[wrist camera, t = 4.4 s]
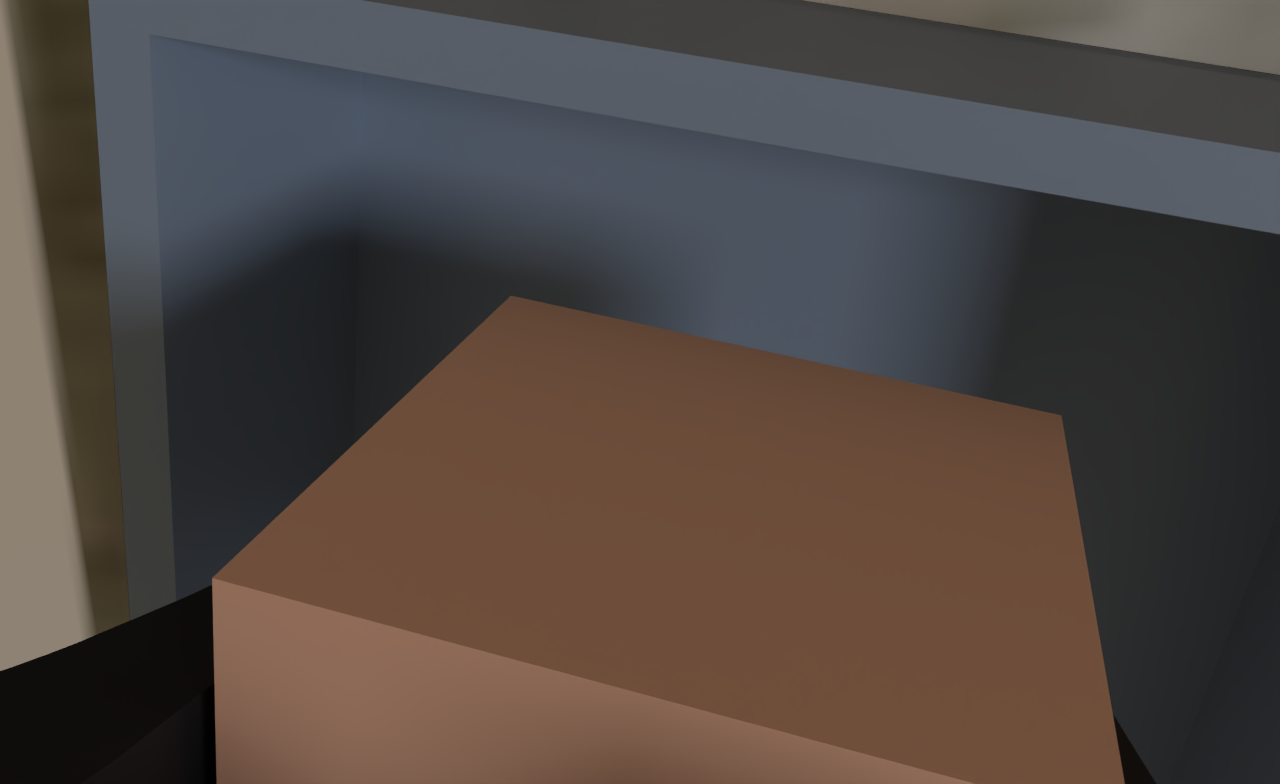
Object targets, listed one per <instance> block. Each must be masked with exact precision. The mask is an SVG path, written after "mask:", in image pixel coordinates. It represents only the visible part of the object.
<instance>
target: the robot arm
mask: <svg viewBox="0 0 1280 784" xmlns="http://www.w3.org/2000/svg"><path fill="white" fill-rule="evenodd" d="M1113 718H1114V724H1115V730H1116V736H1117V741H1118V747H1119V753H1120V759H1121V765H1122V770H1123V776H1124V782H1125V784H1157V783H1156V782H1155V780H1154V778H1153V777H1152V775H1151V774H1150V772H1149V770H1148V769H1147V767H1146V766H1145V764H1144V763H1143V761H1142V759H1141V758H1140V756H1139V754H1138V753H1137V751H1136V750H1135V748H1134V746H1133V745H1132V743H1131V742H1130V740H1129V738H1128V737H1127V735H1126V734H1125V732H1124V730H1123V729H1122V727H1121V725H1120V724H1119V722H1118V721H1117V719H1116V717H1115V716H1114V714H1113ZM0 784H217V777H216V732H215V686H214V640H213V594H212V585H210V586H208V587H206V588H204V589H202V590H200V591H198V592H195V593H193V594H191V595H189V596H187V597H185V598H182V599H180V600H177V601H175V602H173V603H170V604H168V605H166V606H163V607H161V608H159V609H156V610H154V611H152V612H149V613H147V614H144V615H142V616H140V617H137V618H135V619H133V620H130V621H128V622H126V623H123V624H121V625H119V626H116V627H114V628H111V629H109V630H107V631H104V632H102V633H100V634H97V635H95V636H93V637H90V638H88V639H86V640H83V641H81V642H78V643H76V644H73V645H71V646H68V647H66V648H63V649H60V650H58V651H55V652H53V653H50V654H48V655H45V656H42V657H39V658H36V659H34V660H31V661H28V662H26V663H23V664H20V665H17V666H14V667H12V668H9V669H6V670H3V671H0Z"/></svg>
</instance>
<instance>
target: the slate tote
mask: <svg viewBox="0 0 1280 784" xmlns="http://www.w3.org/2000/svg"><path fill="white" fill-rule="evenodd" d="M88 3H89V18H90V32H91V47H92V62H93V77H94V92H95V107H96V121H97V136H98V151H99V166H100V181H101V195H102V210H103V225H104V240H105V255H106V270H107V284H108V299H109V314H110V329H111V344H112V359H113V373H114V388H115V403H116V418H117V433H118V447H119V462H120V477H121V492H122V507H123V522H124V536H125V551H126V566H127V581H128V596H129V611H130V620H133V619H135V618H137V617H140V616H142V615H144V614H147V613H149V612H152V611H154V610H156V609H159V608H161V607H163V606H166V605H168V604H170V603H173V602H175V601H177V600H180V599H182V598H185V597H187V596H189V595H191V594H193V593H195V592H198V591H200V590H202V589H204V588H206V587H208V586H210V585H212V578H213V577H214V576H215V575H216V574H217V573H218V572H219V571H220V570H221V569H222V568H223V567H224V566H226V565H227V564H228V563H229V562H230V561H231V560H232V559H233V558H234V557H235V556H236V555H237V554H238V553H239V552H240V551H241V550H242V549H244V548H245V547H246V546H247V545H248V544H249V543H250V542H251V541H252V540H253V539H254V538H255V537H256V536H257V535H258V534H259V533H260V532H261V531H263V530H264V529H265V528H266V527H267V526H268V525H269V524H270V523H271V522H272V521H273V520H274V519H275V518H276V517H277V516H278V515H279V514H281V513H282V512H283V511H284V510H285V509H286V508H287V507H288V506H289V505H290V504H291V503H292V502H293V501H294V500H295V499H296V498H297V497H299V496H300V495H301V494H302V493H303V492H304V491H305V490H306V489H307V488H308V487H309V486H310V485H311V484H312V483H313V482H314V481H315V480H317V479H318V478H319V477H320V476H321V475H322V474H323V473H324V472H325V471H326V470H327V469H328V468H329V467H330V466H331V465H332V464H333V463H335V462H336V461H337V460H338V459H339V458H340V457H341V456H342V455H343V454H344V453H345V452H346V451H347V450H348V449H349V448H350V447H351V446H352V445H354V444H355V443H356V442H357V441H358V440H359V439H360V438H361V437H362V436H363V435H364V434H365V433H366V432H367V431H368V430H369V429H370V428H372V427H373V426H374V425H375V424H376V423H377V422H378V421H379V420H380V419H381V418H382V417H383V416H384V415H385V414H386V413H387V412H388V411H390V410H391V409H392V408H393V407H394V406H395V405H396V404H397V403H398V402H399V401H400V400H401V399H402V398H403V397H404V396H405V395H406V394H408V393H409V392H410V391H411V390H412V389H413V388H414V387H415V386H416V385H417V384H418V383H419V382H420V381H421V380H422V379H423V378H424V377H425V376H427V375H428V374H429V373H430V372H431V371H432V370H433V369H434V368H435V367H436V366H437V365H438V364H439V363H440V362H441V361H442V360H443V359H445V358H446V357H447V356H448V355H449V354H450V353H451V352H452V351H453V350H454V349H455V348H456V347H457V346H458V345H459V344H460V343H461V342H463V341H464V340H465V339H466V338H467V337H468V336H469V335H470V334H471V333H472V332H473V331H474V330H475V329H476V328H477V327H478V326H479V325H481V324H482V323H483V322H484V321H485V320H486V319H487V318H488V317H489V316H490V315H491V314H492V313H493V312H494V311H495V310H496V309H497V308H498V307H500V306H501V305H502V304H503V303H504V302H505V301H506V300H507V299H508V298H509V297H510V296H515V297H520V298H524V299H529V300H533V301H538V302H543V303H547V304H552V305H556V306H561V307H566V308H570V309H575V310H579V311H584V312H589V313H593V314H598V315H602V316H607V317H612V318H616V319H621V320H625V321H630V322H635V323H639V324H644V325H648V326H653V327H658V328H662V329H667V330H671V331H676V332H680V333H685V334H690V335H694V336H699V337H703V338H708V339H713V340H717V341H722V342H726V343H731V344H736V345H740V346H745V347H749V348H754V349H759V350H763V351H768V352H772V353H777V354H782V355H786V356H791V357H795V358H800V359H805V360H809V361H814V362H818V363H823V364H828V365H832V366H837V367H841V368H846V369H851V370H855V371H860V372H864V373H869V374H874V375H878V376H883V377H887V378H892V379H897V380H901V381H906V382H910V383H915V384H919V385H924V386H929V387H933V388H938V389H942V390H947V391H952V392H956V393H961V394H965V395H970V396H975V397H979V398H984V399H988V400H993V401H998V402H1002V403H1007V404H1011V405H1016V406H1021V407H1025V408H1030V409H1034V410H1039V411H1044V412H1048V413H1053V414H1057V415H1061V416H1062V422H1063V427H1064V433H1065V439H1066V445H1067V451H1068V456H1069V462H1070V468H1071V474H1072V480H1073V486H1074V491H1075V497H1076V503H1077V509H1078V515H1079V520H1080V526H1081V532H1082V538H1083V544H1084V549H1085V555H1086V561H1087V567H1088V573H1089V579H1090V584H1091V590H1092V596H1093V602H1094V608H1095V613H1096V619H1097V625H1098V631H1099V637H1100V643H1101V648H1102V654H1103V660H1104V666H1105V672H1106V677H1107V683H1108V689H1109V695H1110V701H1111V706H1112V712H1113V714H1114V716H1115V717H1116V719H1117V721H1118V722H1119V724H1120V725H1121V727H1122V729H1123V730H1124V732H1125V734H1126V735H1127V737H1128V738H1129V740H1130V742H1131V743H1132V745H1133V746H1134V748H1135V750H1136V751H1137V753H1138V754H1139V756H1140V758H1141V759H1142V761H1143V763H1144V764H1145V766H1146V767H1147V769H1148V770H1149V772H1150V774H1151V775H1152V777H1153V778H1154V780H1155V782H1156V783H1157V784H1280V75H1275V74H1269V73H1263V72H1256V71H1250V70H1243V69H1237V68H1231V67H1224V66H1218V65H1211V64H1205V63H1199V62H1192V61H1186V60H1179V59H1173V58H1167V57H1160V56H1154V55H1147V54H1141V53H1135V52H1128V51H1122V50H1115V49H1109V48H1103V47H1096V46H1090V45H1083V44H1077V43H1071V42H1064V41H1058V40H1051V39H1045V38H1039V37H1032V36H1026V35H1019V34H1013V33H1007V32H1000V31H994V30H987V29H981V28H975V27H968V26H962V25H955V24H949V23H943V22H936V21H930V20H923V19H917V18H911V17H904V16H898V15H891V14H885V13H879V12H872V11H866V10H859V9H853V8H847V7H840V6H834V5H827V4H821V3H815V2H808V1H802V0H88Z"/></svg>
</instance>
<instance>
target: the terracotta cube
mask: <svg viewBox="0 0 1280 784" xmlns="http://www.w3.org/2000/svg"><path fill="white" fill-rule="evenodd" d="M212 594H213V640H214V686H215V732H216V777H217V784H1125V782H1124V776H1123V770H1122V765H1121V759H1120V753H1119V747H1118V741H1117V736H1116V730H1115V724H1114V718H1113V712H1112V706H1111V701H1110V695H1109V689H1108V683H1107V677H1106V672H1105V666H1104V660H1103V654H1102V648H1101V643H1100V637H1099V631H1098V625H1097V619H1096V613H1095V608H1094V602H1093V596H1092V590H1091V584H1090V579H1089V573H1088V567H1087V561H1086V555H1085V549H1084V544H1083V538H1082V532H1081V526H1080V520H1079V515H1078V509H1077V503H1076V497H1075V491H1074V486H1073V480H1072V474H1071V468H1070V462H1069V456H1068V451H1067V445H1066V439H1065V433H1064V427H1063V422H1062V416H1061V415H1057V414H1053V413H1048V412H1044V411H1039V410H1034V409H1030V408H1025V407H1021V406H1016V405H1011V404H1007V403H1002V402H998V401H993V400H988V399H984V398H979V397H975V396H970V395H965V394H961V393H956V392H952V391H947V390H942V389H938V388H933V387H929V386H924V385H919V384H915V383H910V382H906V381H901V380H897V379H892V378H887V377H883V376H878V375H874V374H869V373H864V372H860V371H855V370H851V369H846V368H841V367H837V366H832V365H828V364H823V363H818V362H814V361H809V360H805V359H800V358H795V357H791V356H786V355H782V354H777V353H772V352H768V351H763V350H759V349H754V348H749V347H745V346H740V345H736V344H731V343H726V342H722V341H717V340H713V339H708V338H703V337H699V336H694V335H690V334H685V333H680V332H676V331H671V330H667V329H662V328H658V327H653V326H648V325H644V324H639V323H635V322H630V321H625V320H621V319H616V318H612V317H607V316H602V315H598V314H593V313H589V312H584V311H579V310H575V309H570V308H566V307H561V306H556V305H552V304H547V303H543V302H538V301H533V300H529V299H524V298H520V297H515V296H510V297H509V298H508V299H507V300H506V301H505V302H504V303H503V304H502V305H501V306H500V307H498V308H497V309H496V310H495V311H494V312H493V313H492V314H491V315H490V316H489V317H488V318H487V319H486V320H485V321H484V322H483V323H482V324H481V325H479V326H478V327H477V328H476V329H475V330H474V331H473V332H472V333H471V334H470V335H469V336H468V337H467V338H466V339H465V340H464V341H463V342H461V343H460V344H459V345H458V346H457V347H456V348H455V349H454V350H453V351H452V352H451V353H450V354H449V355H448V356H447V357H446V358H445V359H443V360H442V361H441V362H440V363H439V364H438V365H437V366H436V367H435V368H434V369H433V370H432V371H431V372H430V373H429V374H428V375H427V376H425V377H424V378H423V379H422V380H421V381H420V382H419V383H418V384H417V385H416V386H415V387H414V388H413V389H412V390H411V391H410V392H409V393H408V394H406V395H405V396H404V397H403V398H402V399H401V400H400V401H399V402H398V403H397V404H396V405H395V406H394V407H393V408H392V409H391V410H390V411H388V412H387V413H386V414H385V415H384V416H383V417H382V418H381V419H380V420H379V421H378V422H377V423H376V424H375V425H374V426H373V427H372V428H370V429H369V430H368V431H367V432H366V433H365V434H364V435H363V436H362V437H361V438H360V439H359V440H358V441H357V442H356V443H355V444H354V445H352V446H351V447H350V448H349V449H348V450H347V451H346V452H345V453H344V454H343V455H342V456H341V457H340V458H339V459H338V460H337V461H336V462H335V463H333V464H332V465H331V466H330V467H329V468H328V469H327V470H326V471H325V472H324V473H323V474H322V475H321V476H320V477H319V478H318V479H317V480H315V481H314V482H313V483H312V484H311V485H310V486H309V487H308V488H307V489H306V490H305V491H304V492H303V493H302V494H301V495H300V496H299V497H297V498H296V499H295V500H294V501H293V502H292V503H291V504H290V505H289V506H288V507H287V508H286V509H285V510H284V511H283V512H282V513H281V514H279V515H278V516H277V517H276V518H275V519H274V520H273V521H272V522H271V523H270V524H269V525H268V526H267V527H266V528H265V529H264V530H263V531H261V532H260V533H259V534H258V535H257V536H256V537H255V538H254V539H253V540H252V541H251V542H250V543H249V544H248V545H247V546H246V547H245V548H244V549H242V550H241V551H240V552H239V553H238V554H237V555H236V556H235V557H234V558H233V559H232V560H231V561H230V562H229V563H228V564H227V565H226V566H224V567H223V568H222V569H221V570H220V571H219V572H218V573H217V574H216V575H215V576H214V577H213V578H212Z"/></svg>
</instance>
